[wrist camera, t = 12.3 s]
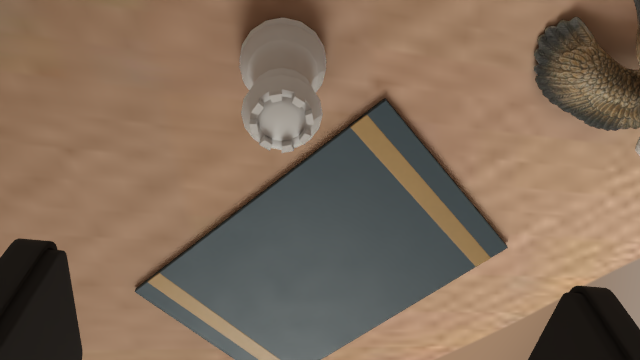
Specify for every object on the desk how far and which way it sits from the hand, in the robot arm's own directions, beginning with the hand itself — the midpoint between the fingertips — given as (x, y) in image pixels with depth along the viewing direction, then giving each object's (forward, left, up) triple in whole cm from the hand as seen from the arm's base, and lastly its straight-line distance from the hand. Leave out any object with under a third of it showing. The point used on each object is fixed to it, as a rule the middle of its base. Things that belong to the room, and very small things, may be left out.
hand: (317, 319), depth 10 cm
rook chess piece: (+1, +1, -19) cm, 19 cm away
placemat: (-3, +15, -19) cm, 25 cm away
